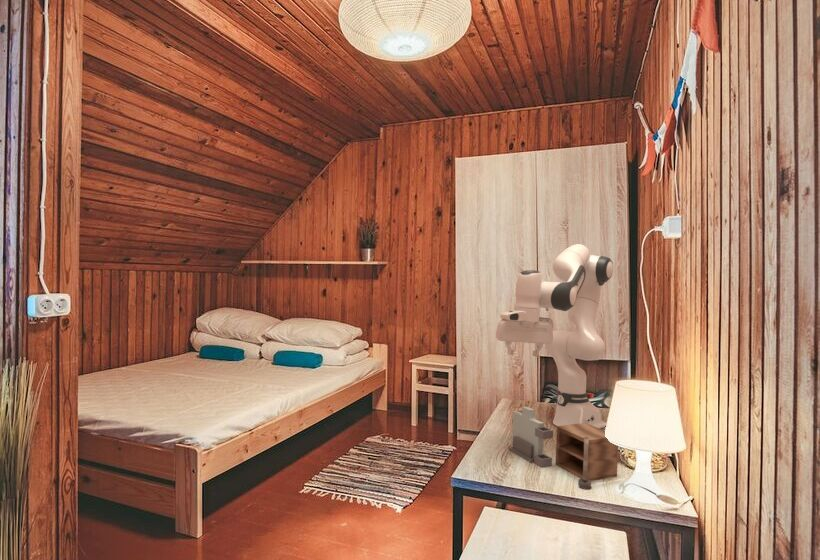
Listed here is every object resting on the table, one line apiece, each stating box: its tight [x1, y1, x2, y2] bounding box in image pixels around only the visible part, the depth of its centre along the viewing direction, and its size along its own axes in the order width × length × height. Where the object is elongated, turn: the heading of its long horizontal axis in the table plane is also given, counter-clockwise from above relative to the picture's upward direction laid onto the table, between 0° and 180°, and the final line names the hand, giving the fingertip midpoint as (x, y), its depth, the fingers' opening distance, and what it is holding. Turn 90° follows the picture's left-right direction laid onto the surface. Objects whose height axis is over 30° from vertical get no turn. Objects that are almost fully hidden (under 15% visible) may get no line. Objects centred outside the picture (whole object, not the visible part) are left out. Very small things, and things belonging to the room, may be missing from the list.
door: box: [511, 406, 554, 468], centre depth 165 cm, size 4×18×16 cm, turn 24°
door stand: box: [508, 436, 534, 464], centre depth 167 cm, size 6×12×6 cm, turn 24°
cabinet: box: [555, 423, 619, 490], centre depth 153 cm, size 16×17×15 cm
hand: (523, 355), depth 172 cm, fingers open, 8 cm apart
